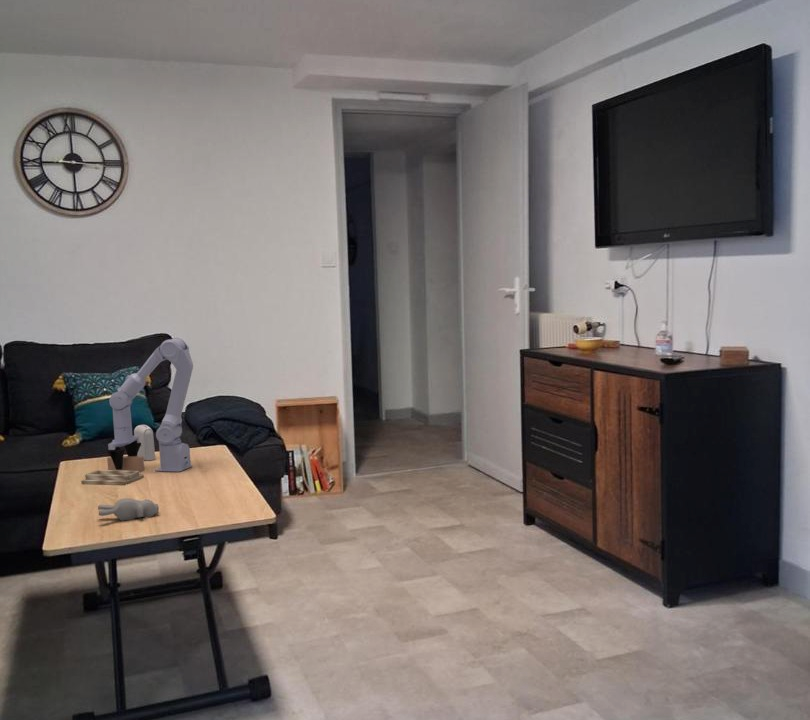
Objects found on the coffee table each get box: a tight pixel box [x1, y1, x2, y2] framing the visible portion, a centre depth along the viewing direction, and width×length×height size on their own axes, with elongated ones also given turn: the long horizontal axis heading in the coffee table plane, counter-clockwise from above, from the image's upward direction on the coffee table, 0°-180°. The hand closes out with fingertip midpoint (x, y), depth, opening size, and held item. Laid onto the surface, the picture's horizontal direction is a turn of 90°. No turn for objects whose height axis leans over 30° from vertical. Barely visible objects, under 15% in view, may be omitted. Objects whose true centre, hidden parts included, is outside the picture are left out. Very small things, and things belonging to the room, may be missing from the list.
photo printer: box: [133, 424, 156, 461], centre depth 294 cm, size 10×4×12 cm, turn 39°
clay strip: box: [106, 455, 145, 473], centre depth 274 cm, size 12×3×5 cm, turn 74°
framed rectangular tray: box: [80, 469, 144, 486], centre depth 261 cm, size 16×10×2 cm, turn 75°
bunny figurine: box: [97, 497, 160, 522], centre depth 216 cm, size 10×5×15 cm
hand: (125, 466), depth 274 cm, fingers open, 7 cm apart
